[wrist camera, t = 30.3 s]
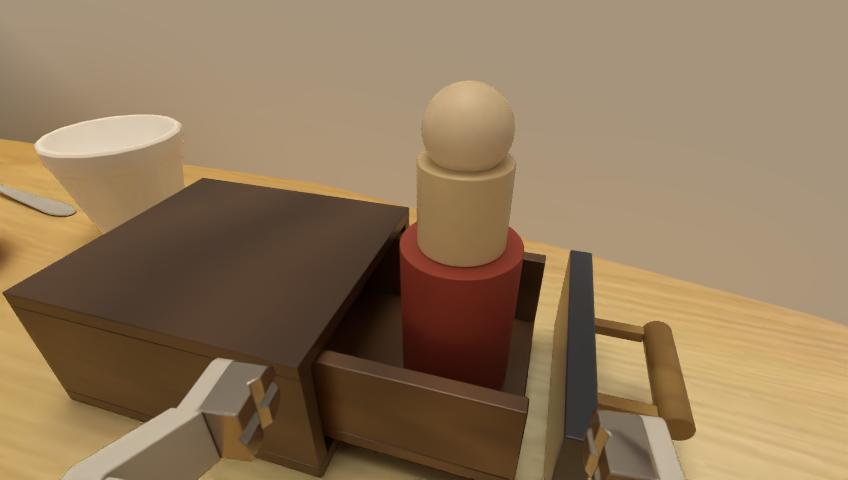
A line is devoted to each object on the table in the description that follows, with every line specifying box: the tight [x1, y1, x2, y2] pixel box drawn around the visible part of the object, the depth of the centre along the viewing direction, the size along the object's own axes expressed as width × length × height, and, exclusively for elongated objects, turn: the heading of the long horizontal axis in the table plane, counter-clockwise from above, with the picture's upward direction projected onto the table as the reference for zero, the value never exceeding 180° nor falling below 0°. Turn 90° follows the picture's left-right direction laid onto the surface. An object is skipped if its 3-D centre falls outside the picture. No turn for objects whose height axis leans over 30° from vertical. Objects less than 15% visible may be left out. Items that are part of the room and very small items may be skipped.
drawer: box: [310, 232, 696, 480], centre depth 23 cm, size 19×12×6 cm, turn 73°
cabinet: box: [3, 178, 409, 477], centre depth 26 cm, size 16×14×8 cm
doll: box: [399, 81, 524, 391], centre depth 20 cm, size 6×6×15 cm
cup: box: [34, 115, 184, 235], centre depth 37 cm, size 10×10×9 cm
